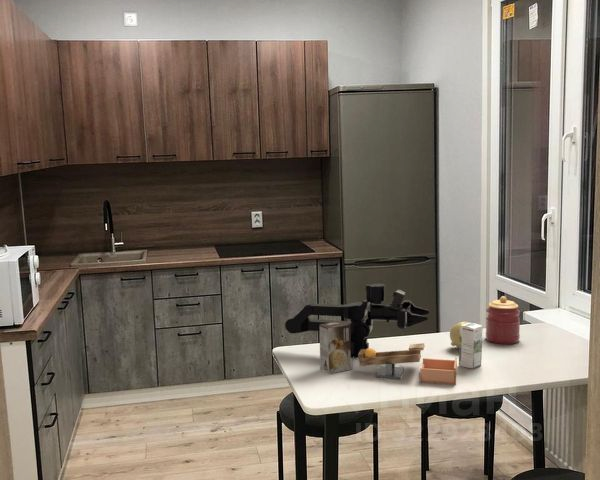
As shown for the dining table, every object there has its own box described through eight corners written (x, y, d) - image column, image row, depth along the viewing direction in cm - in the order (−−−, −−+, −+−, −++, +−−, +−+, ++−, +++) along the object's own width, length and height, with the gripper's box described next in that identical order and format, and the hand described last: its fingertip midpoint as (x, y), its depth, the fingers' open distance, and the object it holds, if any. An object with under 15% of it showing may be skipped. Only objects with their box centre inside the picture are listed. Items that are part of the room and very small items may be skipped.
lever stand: (376, 378, 213) (376, 363, 212) (380, 368, 222) (380, 354, 222) (400, 379, 211) (400, 365, 210) (403, 370, 220) (403, 356, 219)
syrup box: (467, 361, 228) (467, 322, 226) (482, 365, 224) (482, 324, 222) (458, 365, 224) (458, 325, 222) (473, 369, 220) (474, 328, 218)
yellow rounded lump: (486, 348, 243) (486, 321, 241) (464, 354, 236) (464, 326, 235) (466, 343, 251) (466, 316, 250) (444, 348, 244) (444, 321, 243)
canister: (526, 342, 250) (527, 298, 248) (497, 346, 246) (498, 301, 244) (506, 334, 262) (507, 291, 260) (478, 337, 259) (479, 294, 256)
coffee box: (342, 364, 227) (341, 320, 225) (351, 369, 222) (351, 324, 220) (319, 368, 223) (318, 323, 221) (328, 374, 217) (328, 328, 215)
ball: (364, 362, 216) (361, 351, 216) (366, 358, 220) (363, 347, 220) (376, 360, 215) (373, 349, 215) (378, 356, 219) (375, 345, 219)
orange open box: (420, 382, 208) (420, 365, 208) (423, 370, 219) (423, 355, 218) (455, 384, 205) (455, 368, 205) (456, 373, 216) (456, 357, 215)
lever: (359, 366, 216) (357, 354, 215) (367, 351, 232) (366, 340, 231) (420, 361, 210) (419, 350, 210) (424, 347, 226) (423, 336, 225)
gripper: (381, 296, 223) (426, 298, 219) (388, 285, 240) (430, 287, 236) (381, 327, 224) (426, 330, 220) (388, 314, 242) (430, 317, 238)
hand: (428, 315), depth 228 cm, fingers open, 9 cm apart
